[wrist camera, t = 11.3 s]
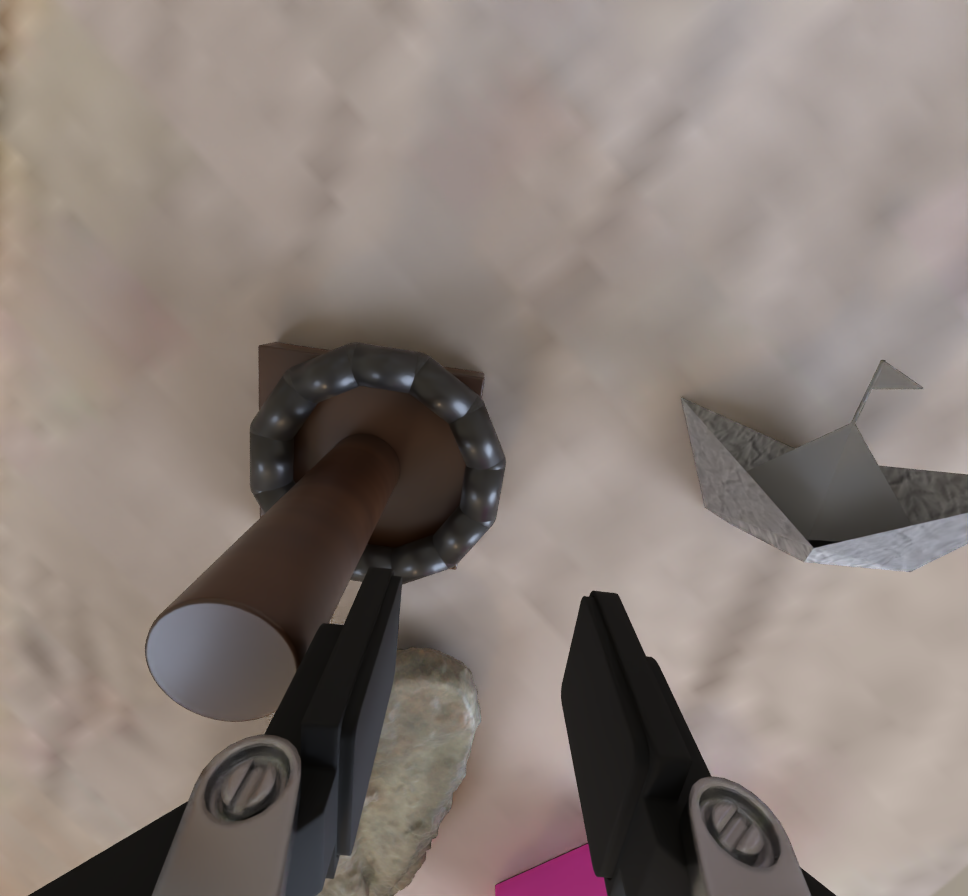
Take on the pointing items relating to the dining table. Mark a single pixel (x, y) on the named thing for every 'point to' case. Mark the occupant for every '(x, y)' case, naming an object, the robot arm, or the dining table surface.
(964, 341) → the dining table surface
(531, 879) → the bracket
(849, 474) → the paper boat
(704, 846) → the robot arm
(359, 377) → the hoop
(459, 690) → the long grey stone
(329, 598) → the peg stand
